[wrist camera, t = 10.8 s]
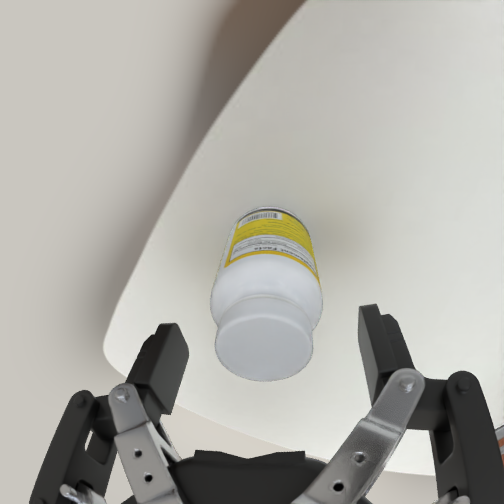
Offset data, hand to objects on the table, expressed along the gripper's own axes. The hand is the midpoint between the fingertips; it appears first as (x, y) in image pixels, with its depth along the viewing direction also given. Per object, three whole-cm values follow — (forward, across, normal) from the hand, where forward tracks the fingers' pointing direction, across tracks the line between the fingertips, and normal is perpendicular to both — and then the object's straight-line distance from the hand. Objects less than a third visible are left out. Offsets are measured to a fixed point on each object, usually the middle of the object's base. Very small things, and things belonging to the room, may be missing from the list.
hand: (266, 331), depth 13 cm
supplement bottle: (+9, 0, 0) cm, 9 cm away
